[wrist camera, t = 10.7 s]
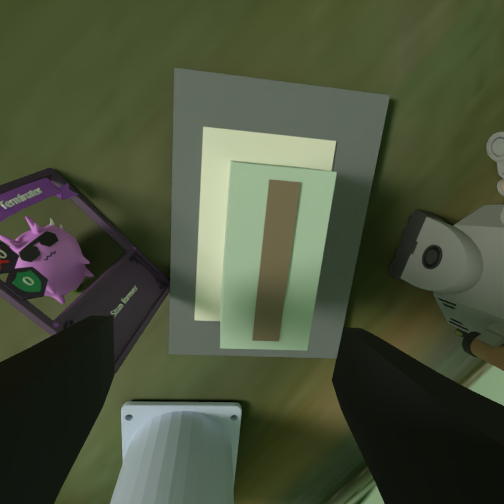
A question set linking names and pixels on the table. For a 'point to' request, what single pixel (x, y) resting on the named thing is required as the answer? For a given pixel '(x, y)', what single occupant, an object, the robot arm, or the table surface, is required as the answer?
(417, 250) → the figurine
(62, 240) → the game card
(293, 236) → the mint slotted box
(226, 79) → the mat
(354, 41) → the table surface
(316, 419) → the table surface
